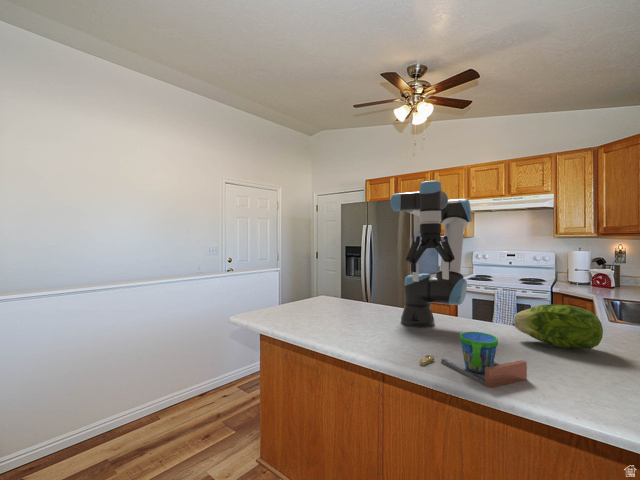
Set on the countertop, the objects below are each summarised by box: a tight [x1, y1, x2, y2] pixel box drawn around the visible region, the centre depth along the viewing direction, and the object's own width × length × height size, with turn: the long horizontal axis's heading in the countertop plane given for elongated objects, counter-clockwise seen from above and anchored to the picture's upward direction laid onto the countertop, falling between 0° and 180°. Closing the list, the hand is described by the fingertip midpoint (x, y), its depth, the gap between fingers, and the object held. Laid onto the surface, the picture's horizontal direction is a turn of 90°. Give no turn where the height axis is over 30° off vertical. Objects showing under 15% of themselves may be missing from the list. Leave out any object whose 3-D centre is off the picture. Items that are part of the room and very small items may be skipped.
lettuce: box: [512, 304, 604, 350], centre depth 117 cm, size 15×27×16 cm, turn 53°
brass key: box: [419, 354, 435, 367], centre depth 102 cm, size 7×3×1 cm, turn 135°
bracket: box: [440, 358, 528, 389], centre depth 96 cm, size 14×18×5 cm
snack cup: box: [459, 331, 499, 375], centre depth 96 cm, size 16×10×10 cm
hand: (430, 280), depth 117 cm, fingers open, 13 cm apart
